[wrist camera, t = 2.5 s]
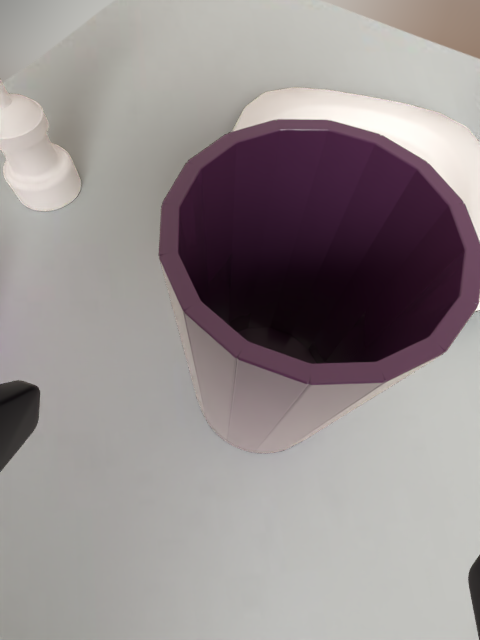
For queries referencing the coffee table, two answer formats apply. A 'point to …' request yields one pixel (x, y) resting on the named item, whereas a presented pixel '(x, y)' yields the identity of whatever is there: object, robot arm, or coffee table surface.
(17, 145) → the decorative finial
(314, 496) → the coffee table surface
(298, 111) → the plate
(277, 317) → the tumbler
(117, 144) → the coffee table surface
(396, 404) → the coffee table surface
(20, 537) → the coffee table surface
